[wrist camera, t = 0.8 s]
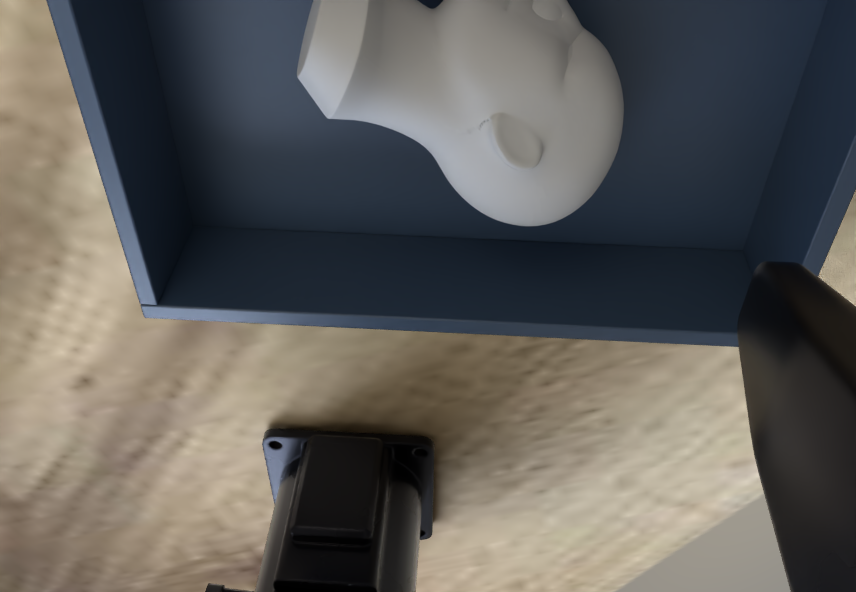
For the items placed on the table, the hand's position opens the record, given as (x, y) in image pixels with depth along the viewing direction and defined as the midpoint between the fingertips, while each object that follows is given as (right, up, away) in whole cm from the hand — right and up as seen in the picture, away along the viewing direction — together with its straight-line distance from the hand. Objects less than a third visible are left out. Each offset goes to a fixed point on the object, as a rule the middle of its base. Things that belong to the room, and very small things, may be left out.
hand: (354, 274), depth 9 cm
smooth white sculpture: (+2, +6, +11) cm, 12 cm away
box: (+2, +6, +11) cm, 13 cm away
